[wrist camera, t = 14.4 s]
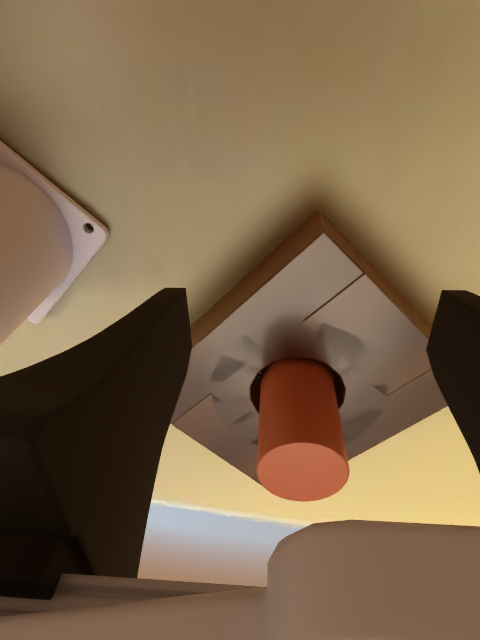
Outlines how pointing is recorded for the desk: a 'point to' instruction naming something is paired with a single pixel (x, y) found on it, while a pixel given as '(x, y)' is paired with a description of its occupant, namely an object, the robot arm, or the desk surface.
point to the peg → (300, 431)
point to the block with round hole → (308, 347)
